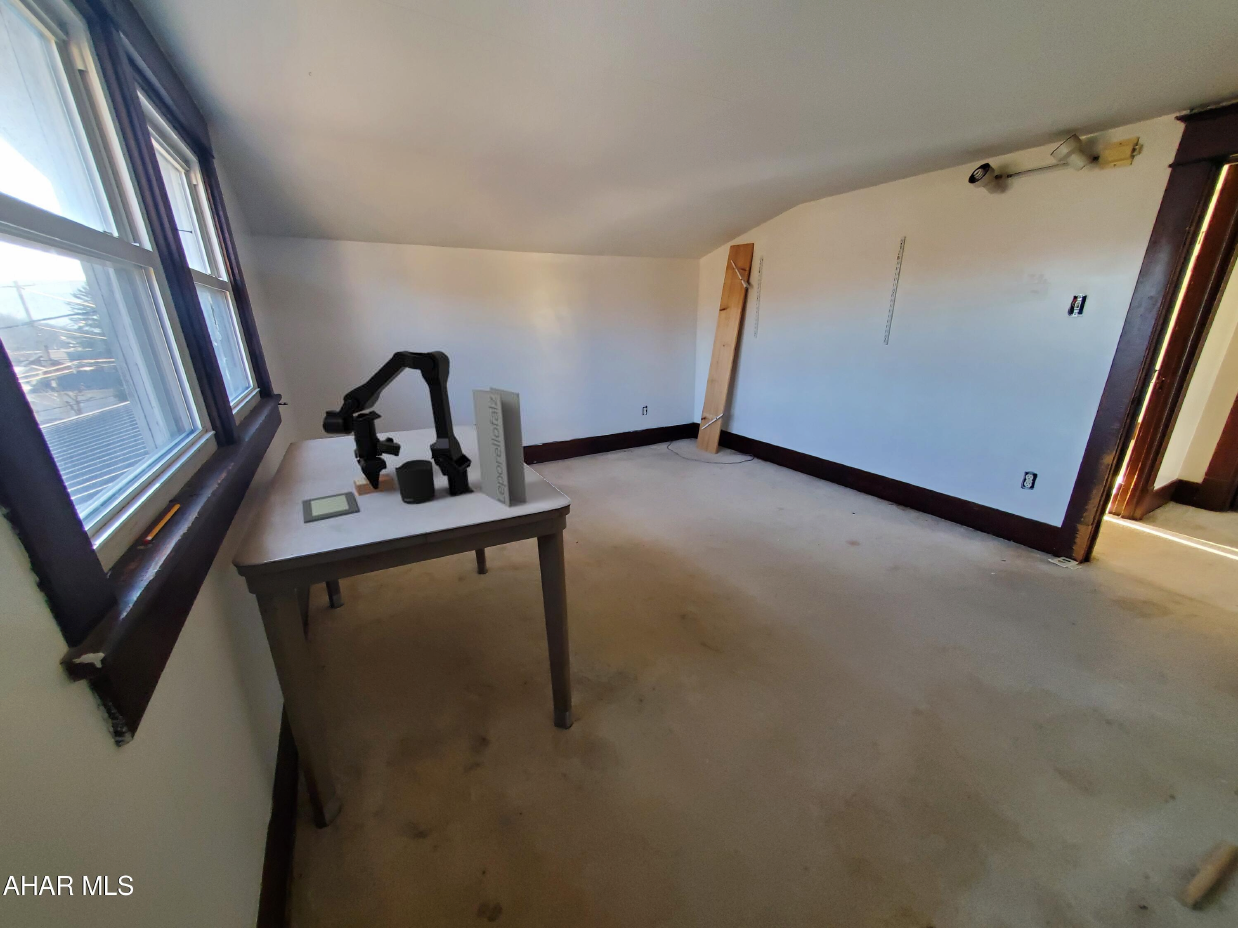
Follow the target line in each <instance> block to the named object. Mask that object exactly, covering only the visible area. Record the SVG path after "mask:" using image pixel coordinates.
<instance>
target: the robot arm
mask: <svg viewBox="0 0 1238 928" xmlns="http://www.w3.org/2000/svg"><path fill="white" fill-rule="evenodd" d="M450 363H451V361H450V358H449V356H448V355H447V354H446V353H445V352H444V351H441V350H434V351H427V352H420V351H419V352H417V351H409V350H400V351H396V352H394V354H392V356H391V357H390V358H389V359H388V360H387V361H386V362H385V363H384V364H383V365H382V367H380V368H379V369H378V370H377V371H376V372H375V373H374V374H373V375H372V376H371V377H370V378H369V379H367V381H366V382H364V383H363V384H360V385H359V386H357V387H355V388H353V389H351V390H350V391H348V392H347V393H346V394H344V396H343V398H342V400H343V403H342V404H341V406H340V409H339V410H335V409H330V410H326V411H325V416H324V418H323V421H322V429H323V431H324V433H326V434H327V435H351V434H352V433H353V440H354V441H353V442H354V443H355V448H354V450H353V453H354V457H355V459H356V463H357V464H358V466H359V467H360V471H361V472H362V475H364V478H365V477H366V478H367V480H368V481H369V483H370V484H371V486H372V487H373V488H374V489H378V487H379V477H380V475H381V472H382V471H383V470H386V469H388V465H387V461H386V460H385V458H383V456H384V455H388V456H389V455H391V456H393V457H399V456H400V452H401V448H402V445H401V444H400V443H398V442H397V441H396V442H395V440H394V438H393V437H390V436H386V438H384V439H382V440H380V438H379V437H378V434H377V428H376V422H375V421H376V420H378V419H381V418H382V415H381V414H379V413H378V412H376V411H375V410H370V409H372V408H373V407H374V406H375V405H376V404H377V402H378V401H379V399H380V397H381V394H382V392H383V391H384V390H385V389H386V388H387V387H389V385H390V384H391V383H392V382H394V380H395V379H397V378H398V376H400V375H401V374H402V373H403V372H404V371H405V370H406V369H407V368H408V369H410V370H415V371H416V370H418V371H420V374H421V377H422V379H423V380H424V382H425V383H426V385H427V388H428V392H429V397H430V398H429V399H430V404H431V405H430V406H431V411H432V417H433V424H434V429H435V435H436V437H435V438H436V439H435V442H432V443H430V445H429V449H430V453H431V460H433V463H434V464H435V466H436V467H438V469H439V470H440V473H441V475H442V476H443V477H446V479H447V487H445V489H444V491H445V492H446V493H447V494H448V495H449V496H450V497H455V496H459V495H464V494H470V493H473V492H474V489H473V488H472V487H471V486H470V483H469V473H468V468H470V467H471V465H472V462H473V461H472V459H470V458H469V456H467V455H466V454H464V452H463V450H462V447H461V444H460V441H459V440H458V438H457V437H456V436H455V433H454V426H453V419H452V413H451V405H450V398H449V393H448V392H449V391H448V381H449V376H450V369H451V368H450V367H451V366H450V365H451V364H450ZM367 410H370V411H368V412H365V411H367ZM355 414H357V415H355Z"/></svg>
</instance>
